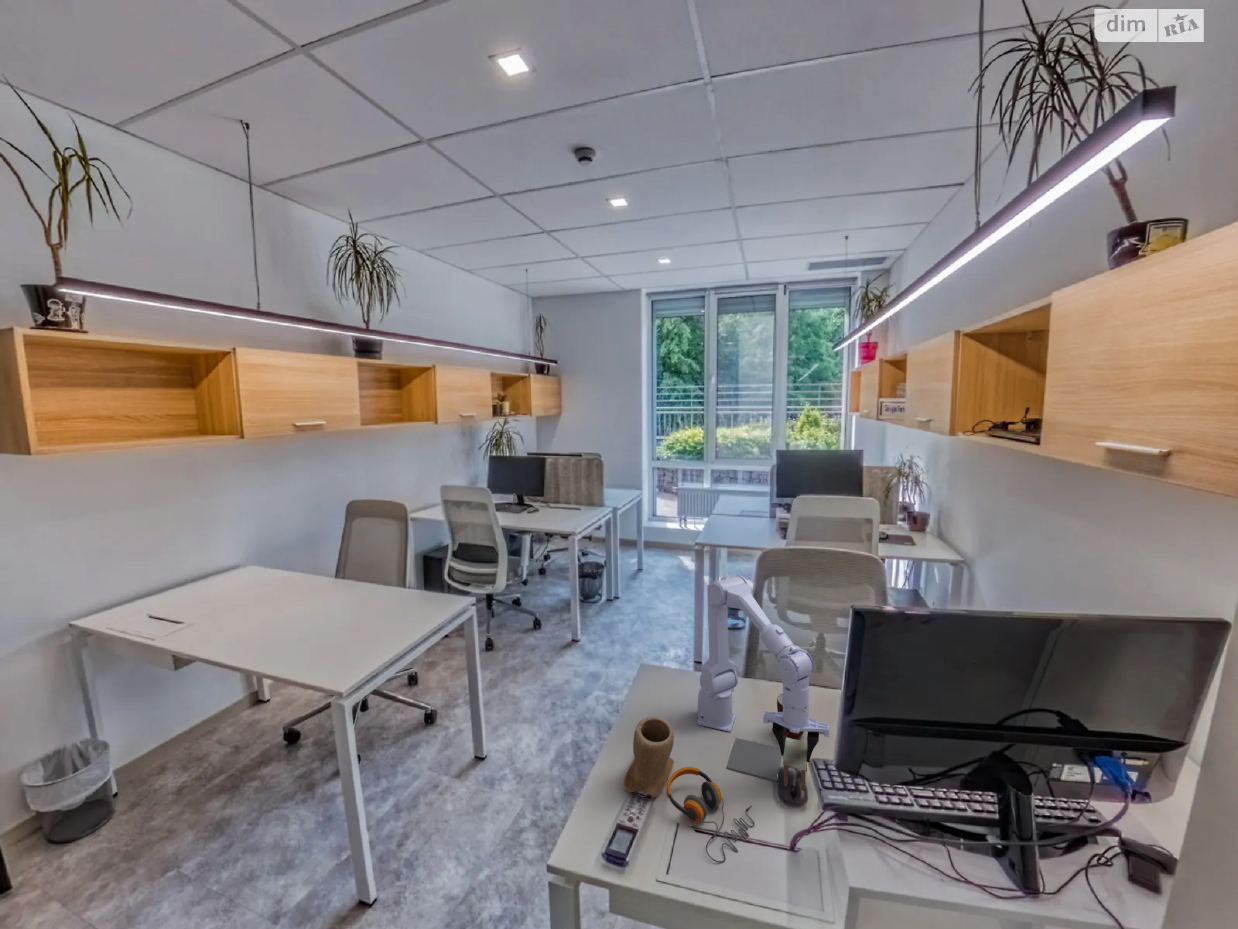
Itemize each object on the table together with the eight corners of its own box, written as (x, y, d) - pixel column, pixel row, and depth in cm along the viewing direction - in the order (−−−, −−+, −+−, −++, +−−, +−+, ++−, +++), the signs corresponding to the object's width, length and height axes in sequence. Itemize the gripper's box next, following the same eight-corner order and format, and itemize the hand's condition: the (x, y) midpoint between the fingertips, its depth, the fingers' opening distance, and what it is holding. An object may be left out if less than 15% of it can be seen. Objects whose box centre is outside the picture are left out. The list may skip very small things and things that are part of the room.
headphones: (724, 859, 93) (650, 783, 107) (719, 880, 94) (647, 802, 108) (770, 810, 104) (698, 747, 118) (764, 829, 106) (694, 765, 120)
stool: (782, 786, 113) (782, 758, 112) (786, 763, 120) (786, 737, 120) (805, 792, 111) (805, 764, 110) (807, 769, 118) (807, 742, 118)
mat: (727, 768, 121) (727, 767, 120) (736, 739, 131) (736, 737, 131) (777, 782, 116) (777, 780, 115) (782, 750, 126) (782, 748, 126)
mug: (801, 754, 125) (801, 718, 124) (770, 743, 129) (770, 708, 128) (811, 732, 133) (811, 697, 132) (782, 722, 138) (781, 689, 137)
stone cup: (664, 809, 109) (662, 747, 107) (617, 793, 114) (615, 733, 113) (686, 765, 122) (684, 709, 121) (642, 752, 128) (641, 698, 126)
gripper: (761, 705, 113) (761, 759, 115) (828, 719, 107) (828, 776, 108) (765, 689, 120) (765, 741, 121) (829, 702, 114) (829, 756, 115)
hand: (795, 756), depth 115 cm, fingers closed on stool, 5 cm apart
